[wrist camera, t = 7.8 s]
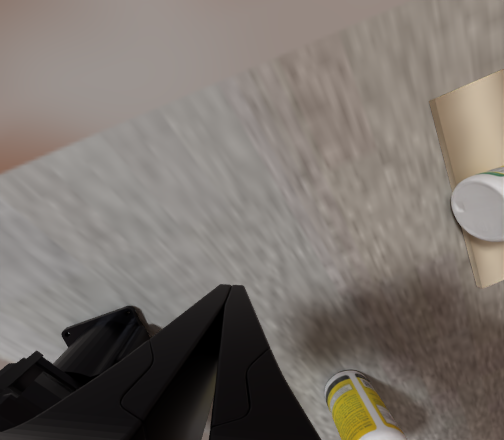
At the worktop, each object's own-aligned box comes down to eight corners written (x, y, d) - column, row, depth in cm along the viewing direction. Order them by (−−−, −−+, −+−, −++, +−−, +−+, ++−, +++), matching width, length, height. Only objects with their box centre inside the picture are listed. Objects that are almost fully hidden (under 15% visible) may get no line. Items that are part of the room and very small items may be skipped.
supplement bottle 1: (321, 409, 25) (363, 522, 17) (325, 369, 24) (370, 467, 16) (366, 407, 26) (428, 518, 17) (371, 367, 25) (439, 464, 17)
